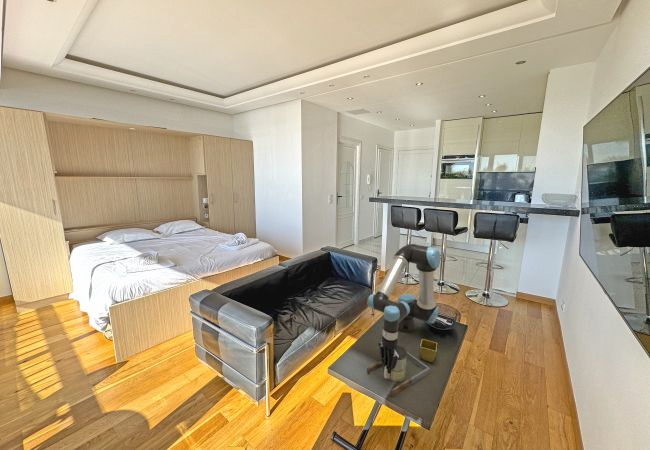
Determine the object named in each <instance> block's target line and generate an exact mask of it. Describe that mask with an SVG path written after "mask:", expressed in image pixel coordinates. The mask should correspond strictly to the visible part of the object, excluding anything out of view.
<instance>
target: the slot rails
mask: <svg viewBox="0 0 650 450" xmlns="http://www.w3.org/2000/svg"><path fill="white" fill-rule="evenodd" d="M380 367H381V368H382V367H384V364H383V362H381V360H380V361H378V362H376V363H374V364H372V365H370V366H368V367H367V369H366V374H367V375H369V374H371V373H373V372H374V370H375V371H376V369H377V370H379V369H380ZM378 368H379V369H378ZM372 371H373V372H372ZM370 372H371V373H370ZM411 381H412V380H411V379H410V378H409V379H406V380H405V381H404V382H402V383H400V384H398V385H397V386H395V387H394V388H392V389H391V390H390V395H391V396H393V397H395V395H397V394H399V393H400V392H402V391H403V390H405V389H408V388H409V387H410V386H411Z"/></svg>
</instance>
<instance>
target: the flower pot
mask: <svg viewBox="0 0 650 450" xmlns="http://www.w3.org/2000/svg"><path fill="white" fill-rule="evenodd" d="M420 340H421V341H420V345H419V353H420V357H421V359H422V360H424V361H427V362H430V363H432V362H434V361H435V359H436V355H437V351H438V350H437V348H438V347H437V346H438V342H436V341H432V340H428V339H424V338H422V339H420Z"/></svg>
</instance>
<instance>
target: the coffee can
mask: <svg viewBox="0 0 650 450" xmlns="http://www.w3.org/2000/svg"><path fill="white" fill-rule="evenodd" d="M396 352H397V354H399V355H400V357H399V358H398V360H397V363H396V366H395V368H394V369H392V370H391V373H390V377H389V378H388V379H389V380H390V381H393V382H397V383H398V382H399V383H400V382H402V381H403V380H405V378H406V368H407V367H406V366H407V359H408V358H407V352H408V351H407V350H406V349H405V347H402V346H401V345H398V344H397V346H396ZM393 356H394V355H393Z"/></svg>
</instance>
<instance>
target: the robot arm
mask: <svg viewBox="0 0 650 450" xmlns="http://www.w3.org/2000/svg"><path fill="white" fill-rule="evenodd" d="M392 260H393V261H392V263H391V265H390V267H389V269H388V270H387V272H386V274H385V276H384V277H383V280H382V282H381V283H380V286H379V287H378V289H377V291H376V293H375V294H374V293H371V294H370V295H369V296H368V297H367V300H366V301H367V306H368V307H369V308H371V309H373V310H375V311H377V312H381V313H383V322H382V324H383V325H382V337H381V342H378V347H379V355H380V361H381V362H383V364H384V366H383V371H384V372H383V378H385V379H389V377H390V373H391V370H392V369H394V368H395V366H396V363H397V360H398V358H399V357H400V355H399V354H397V352H396V346H397V345H398V338H399V332H402V333H406V334H408V333H409V334H411V333H414V332H415V331H416V330H417V324H416V320H417V319H418V320H420V321H422V322H425V323H429V324H434V323H435V322H436V321H437V318H438V315H439V311H440V307H439V306H437V303H436V301H435V299H434V291H435V289H434V285H435V284H434V279H435V276H434V274H435V271H436V270H437V269H438V268H439V267H440V265H441V253H440V250H439V249H438V248H435V247H432V246H426V245H419V244H414V243H409V244H406V245H404V246H401V248H399V249H398V250H397V251H396V253H395V254H394V255H393V259H392ZM410 263H411V264H415V265H416V266H415V267H416V269H417V270H418V294H419V295H418V299H417V297H416V296H415V295H414V294H411V293H404V294H401V295H399V296H398V299H397V302H396V301H394V300H390V297H391V294H392V293H393V291H394V289H395V287H396V285H397V283H398V281H399V279H400V277H401V275H402V273H403V271H404V269H405V267H407V266H408V265H409V264H410ZM415 319H416V320H415ZM393 355H394V356H393Z"/></svg>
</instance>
